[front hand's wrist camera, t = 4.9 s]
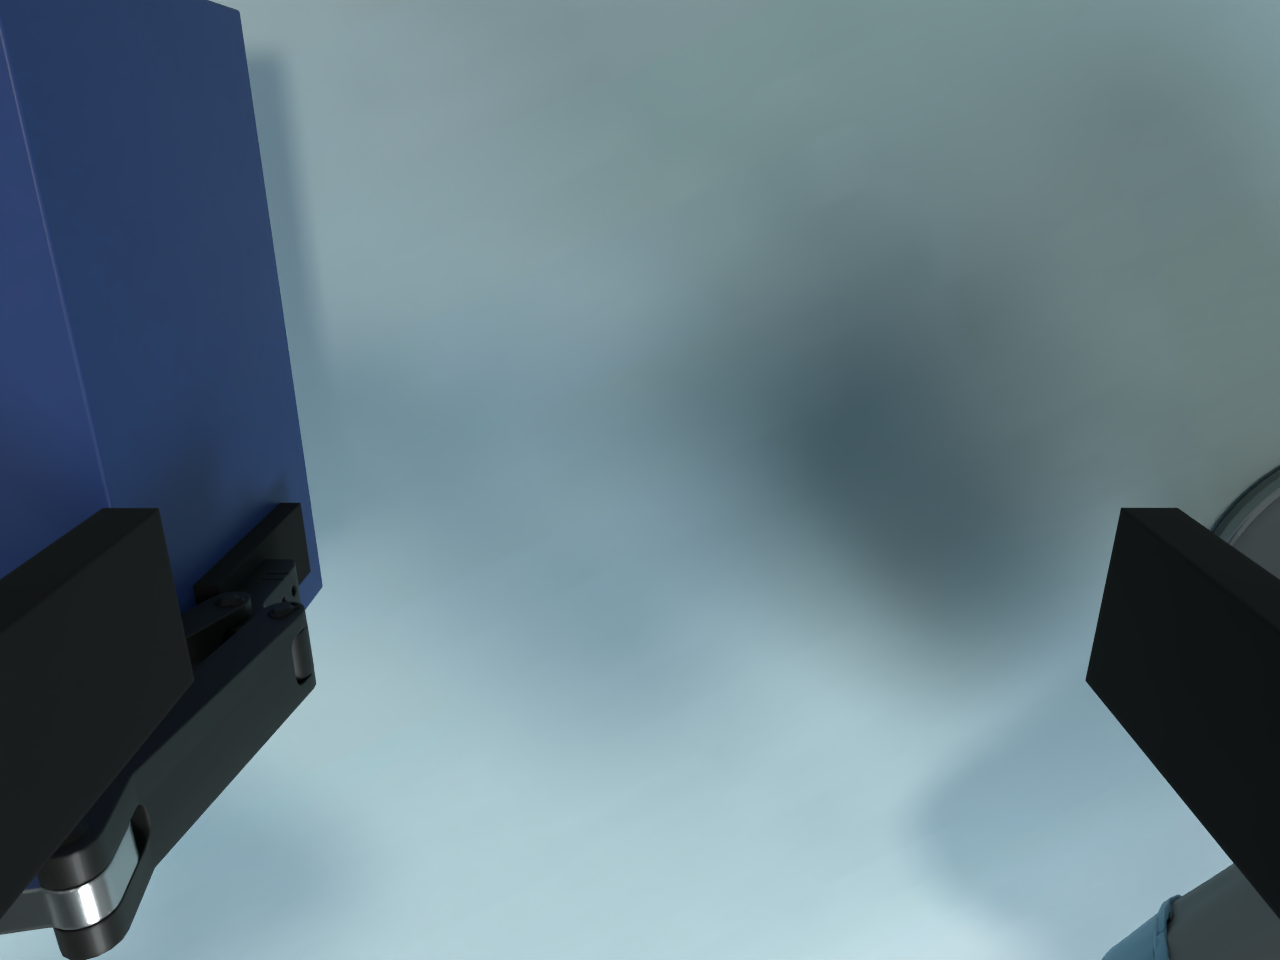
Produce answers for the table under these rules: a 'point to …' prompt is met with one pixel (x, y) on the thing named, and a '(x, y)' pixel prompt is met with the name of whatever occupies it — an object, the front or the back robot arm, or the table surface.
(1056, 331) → the table surface
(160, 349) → the box
